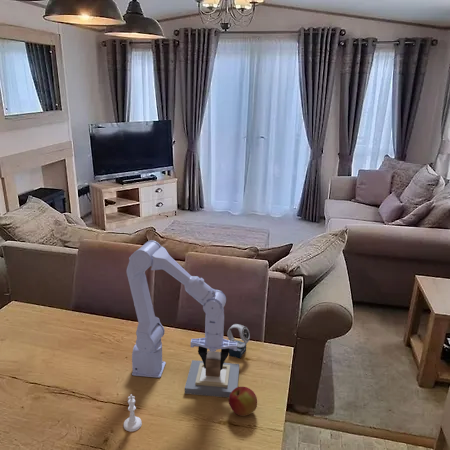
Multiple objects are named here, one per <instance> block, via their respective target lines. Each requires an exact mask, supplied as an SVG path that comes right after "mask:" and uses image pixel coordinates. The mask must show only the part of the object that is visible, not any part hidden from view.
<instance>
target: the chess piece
mask: <svg viewBox="0 0 450 450" xmlns="http://www.w3.org/2000/svg"><path fill="white" fill-rule="evenodd" d="M135 398H136V396H134V395H133V394H132V393H131V394H130V396H128V397H127V403H128V405H129V406H128V408H127V410H128V411H129V417H127V418H126V419H125V420H124V422H123V429H124V430H126V431H128V432H136V431H138V430H139V429H141V427H142V425H143V424H142V423H143V422H142V419H141V418H140V417H139V416H136V415H135V414H136V413H135V410H136V409H137V407H136V405H135V404H136V399H135Z"/></svg>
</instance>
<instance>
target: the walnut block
mask: <svg viewBox="0 0 450 450" xmlns="http://www.w3.org/2000/svg"><path fill="white" fill-rule="evenodd" d="M220 363H221V351H209V350H207V356H206V376H214V377H220V372H221V370H220Z"/></svg>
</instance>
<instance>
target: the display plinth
mask: <svg viewBox="0 0 450 450" xmlns="http://www.w3.org/2000/svg"><path fill="white" fill-rule="evenodd" d="M190 363H191V364H190V367H189V370H188V374H187V379H186V380H185V381H186V382H185V385H184V394H187V395H195V396H197V395H198V396H209V397H217V398H218V397H219V398H221V397H222V398H229V396H230V393H231V392H232V391H233V390H234V389H235V388H237V387H239V375H240V364H239V363H232V362H231V363H230V362H224V364H223V368H222V370H221V372H220V377H214V376H206V368H204V364H203V361H202V360H194V359H192V360H191V362H190Z"/></svg>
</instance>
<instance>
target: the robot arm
mask: <svg viewBox="0 0 450 450" xmlns="http://www.w3.org/2000/svg"><path fill="white" fill-rule="evenodd" d="M150 267H151V268H150ZM149 268H150V271H159V270H163V271H165V273H167V274H168V275H170V276H172V277H173V278H174V279H175V280H177V281H178V282H179V283H181V284H182V285H183V286H184V290H185V292H186V293H187V294H188V295H189V296H191V297H192V298H193V299H194V300H195V301H197V302H198V303H199V304H200V305H201V306H202V310H203V312H204V313H205V316H204V317H205V321H204V322H205V323H204V327H205V328H204V337H199V338H191V340H190V348H195V347H197V348H198V350H197V354H198V355H199V356H200V358H201V361H203V364H204V368H206V356H207V352H208V351H215V352H217V351H218V350H220V352H221V363H220V370H222V368H223V364H224V363H225V362H226V361H227V360H226V359H227V358H228V356H229V349H233V350H234V351H237V342H233V341H229V339H226V338H224V336H225V335H224V331H225V330H224V329H225V328H224V326H225V308H224V307H225V306H226V304H227V303H226V302H227V297H226V294H225V293H224V292H223V290H219V289H215V288H212V287H211V286H210V285H209V284H208V283H206V282H205V279H204V278H203V277H199V276H198V275H196V276H195V275H191V274H190V273H189V272H188V271H187V270H186V269H184V267H182V265H181V264H179V263H178V261H176V260H175V259H174V258H173V257H172V256H171V255H170V254H169V252H168V251H167V249H166V247H164V246H162V245H161V244H160V243H159V242H158V241H156V240H153V239H151V240H148V241H146V242H145V243H144V244H143V245H142V246H141V247H139V248H138V249H137V250H135V251H134V252H133V253H132V254H131V255H130V256H129V257H128V263H127V266H126V271H125V272H126V276H127V280H128V284H129V288H130V293H131V297H132V300H133V301H132V302H133V305H134V308H135V314H136V317H137V322H138V323H137V328H136V330H135V331H136V332H135V334H136V338H135V339H136V340H135V344H134V346H133V347H132V352H131V367H132V373H131V375H132V376H135V377H144V378H145V377H146V378H158V379H160V378H161V377H162V375H163V372H164V369H165V366H166V364H167V362H166V361H163V343H162V338H163V337H164V335H165V332H166V331H165V328H164V326H163V325H162V323H161V321H160V318H159V317H158V316H156V315H155V310H154V305H153V301H152V297H151V294H150V289H149V284H148V279H147V275H146V271H147V270H148V269H149Z"/></svg>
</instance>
